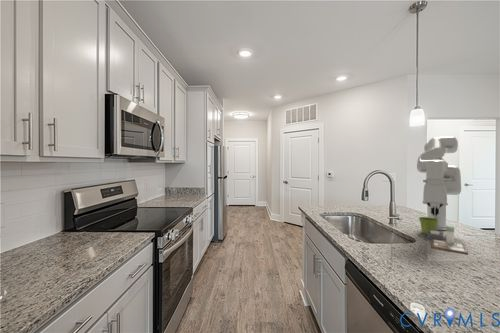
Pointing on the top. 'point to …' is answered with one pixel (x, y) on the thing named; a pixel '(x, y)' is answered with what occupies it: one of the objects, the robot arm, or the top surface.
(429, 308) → the top surface
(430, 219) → the plant pot
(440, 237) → the button box
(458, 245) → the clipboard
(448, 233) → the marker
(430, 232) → the button cap
